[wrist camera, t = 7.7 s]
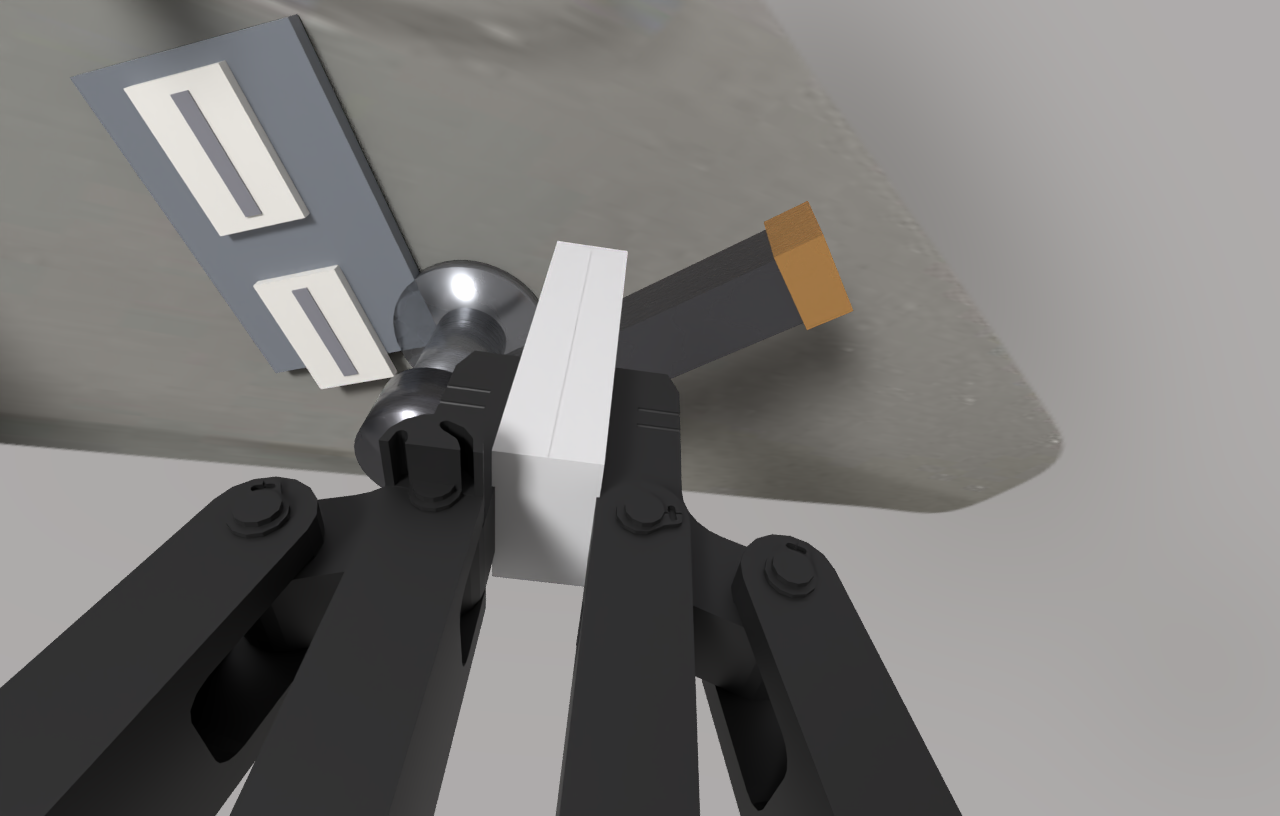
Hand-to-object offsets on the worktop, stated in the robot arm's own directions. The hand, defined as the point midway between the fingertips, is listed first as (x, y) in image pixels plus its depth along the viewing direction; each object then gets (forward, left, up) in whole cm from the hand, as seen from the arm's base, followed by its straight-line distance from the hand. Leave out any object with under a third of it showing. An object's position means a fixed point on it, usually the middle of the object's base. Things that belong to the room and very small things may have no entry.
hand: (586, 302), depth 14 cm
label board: (-17, -1, -16) cm, 23 cm away
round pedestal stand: (-10, -9, -16) cm, 21 cm away
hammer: (-3, -7, -9) cm, 12 cm away
